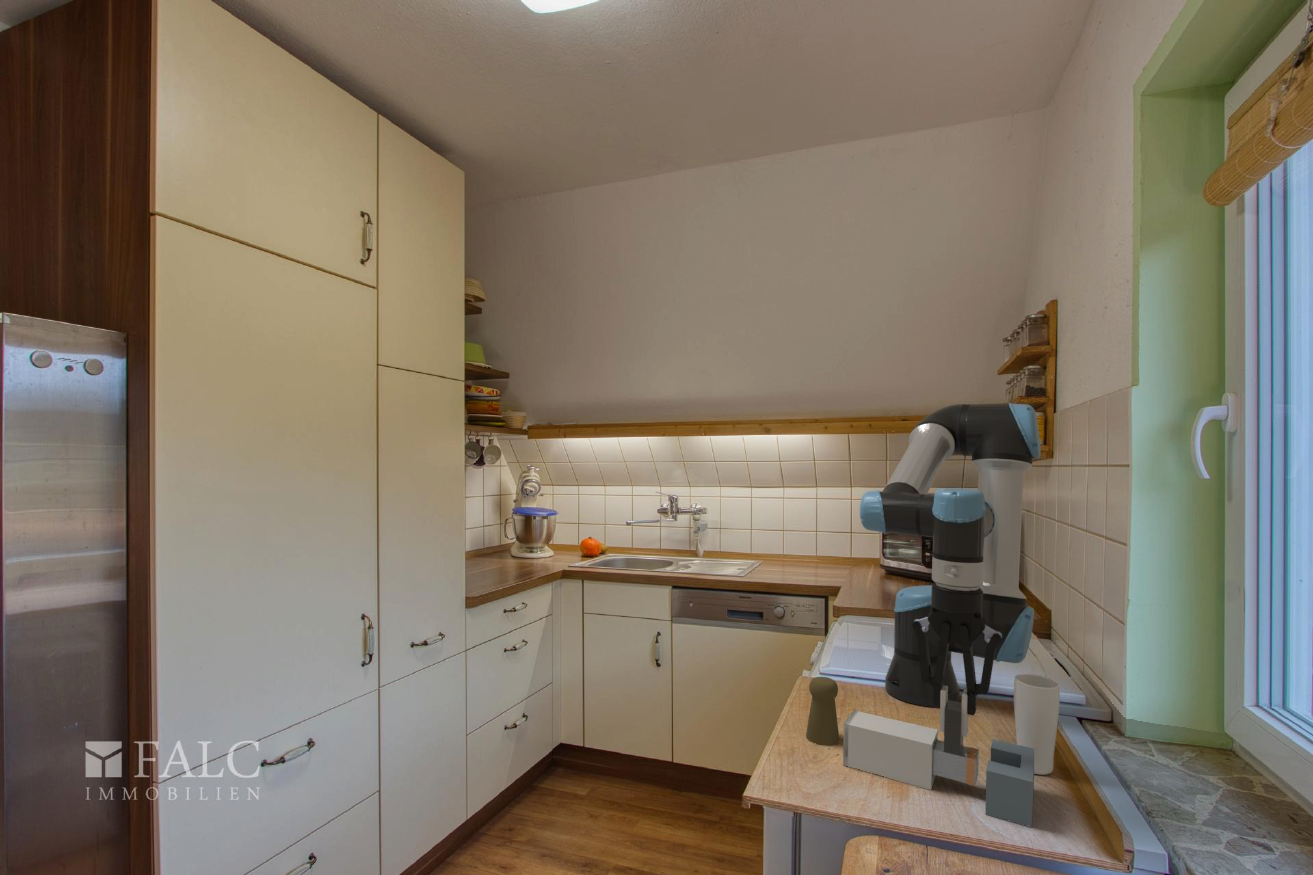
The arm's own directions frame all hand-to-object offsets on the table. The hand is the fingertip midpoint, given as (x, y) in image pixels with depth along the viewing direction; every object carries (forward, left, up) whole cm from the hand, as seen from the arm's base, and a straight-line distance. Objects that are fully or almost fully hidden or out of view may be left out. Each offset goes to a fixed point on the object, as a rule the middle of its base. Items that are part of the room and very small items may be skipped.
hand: (953, 730), depth 105 cm
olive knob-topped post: (-5, -23, -9) cm, 25 cm away
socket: (0, +7, -9) cm, 12 cm away
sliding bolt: (0, -5, -7) cm, 9 cm away
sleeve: (0, -10, -9) cm, 13 cm away
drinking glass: (-14, +11, -9) cm, 20 cm away
